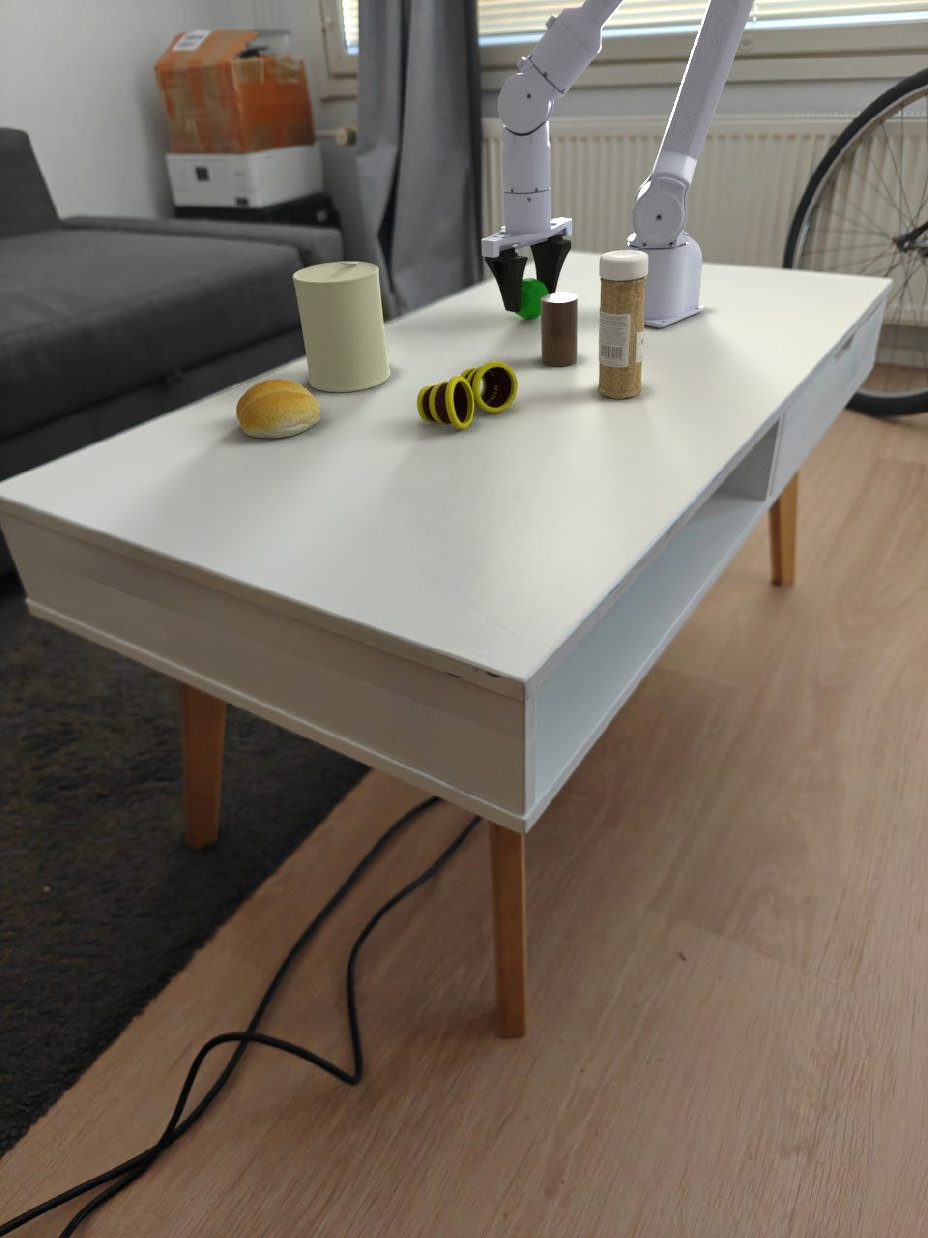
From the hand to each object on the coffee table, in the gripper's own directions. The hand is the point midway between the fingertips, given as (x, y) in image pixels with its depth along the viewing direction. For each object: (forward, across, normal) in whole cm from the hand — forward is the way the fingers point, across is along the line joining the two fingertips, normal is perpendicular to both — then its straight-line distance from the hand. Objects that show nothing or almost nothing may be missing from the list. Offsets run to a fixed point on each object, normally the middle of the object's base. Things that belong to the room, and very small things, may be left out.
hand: (529, 305), depth 115 cm
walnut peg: (+2, +11, +14) cm, 18 cm away
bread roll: (+2, +42, +4) cm, 42 cm away
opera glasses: (+2, +29, +18) cm, 34 cm away
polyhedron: (+2, 0, 0) cm, 2 cm away
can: (+2, +29, -1) cm, 29 cm away
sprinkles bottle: (+2, +15, +26) cm, 30 cm away
